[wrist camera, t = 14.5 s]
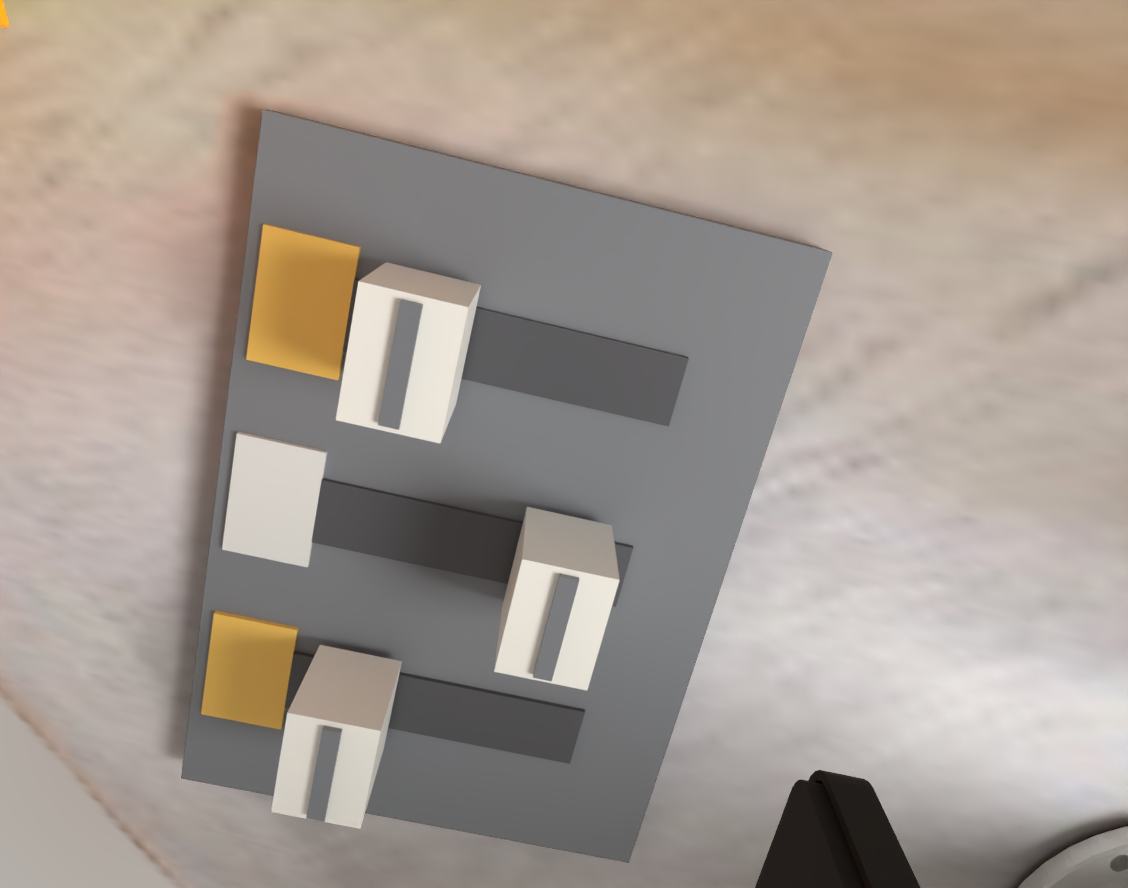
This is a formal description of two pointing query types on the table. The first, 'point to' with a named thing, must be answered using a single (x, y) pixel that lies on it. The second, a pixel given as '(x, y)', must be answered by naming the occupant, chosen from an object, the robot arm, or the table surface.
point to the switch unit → (484, 475)
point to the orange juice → (3, 16)
